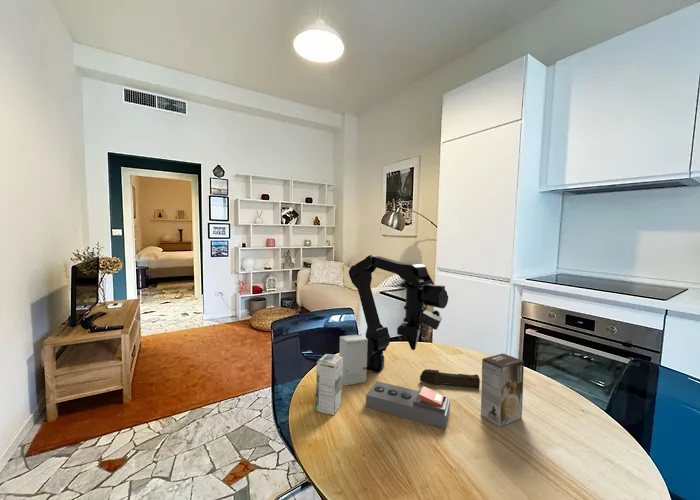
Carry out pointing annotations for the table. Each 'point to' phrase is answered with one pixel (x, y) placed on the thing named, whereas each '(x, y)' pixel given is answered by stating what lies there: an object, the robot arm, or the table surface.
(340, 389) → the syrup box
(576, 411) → the table surface
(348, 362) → the skincare box
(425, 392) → the red flat block
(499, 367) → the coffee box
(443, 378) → the hand tool
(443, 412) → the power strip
